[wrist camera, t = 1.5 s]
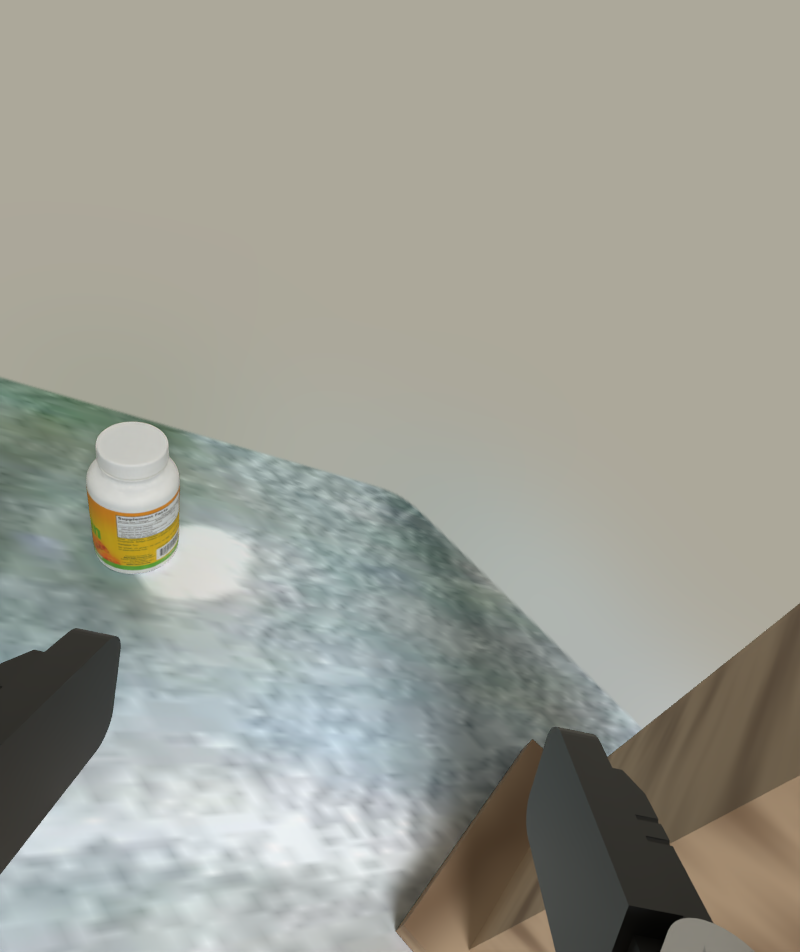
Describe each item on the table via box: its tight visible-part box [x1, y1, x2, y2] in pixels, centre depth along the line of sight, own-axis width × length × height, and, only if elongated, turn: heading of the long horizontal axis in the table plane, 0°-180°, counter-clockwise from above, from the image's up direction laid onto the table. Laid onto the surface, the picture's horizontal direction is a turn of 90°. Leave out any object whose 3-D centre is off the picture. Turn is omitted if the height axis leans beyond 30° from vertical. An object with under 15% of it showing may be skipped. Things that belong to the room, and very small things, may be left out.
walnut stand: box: [396, 604, 800, 952], centre depth 21 cm, size 14×14×32 cm
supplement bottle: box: [86, 422, 180, 574], centre depth 38 cm, size 5×5×10 cm
